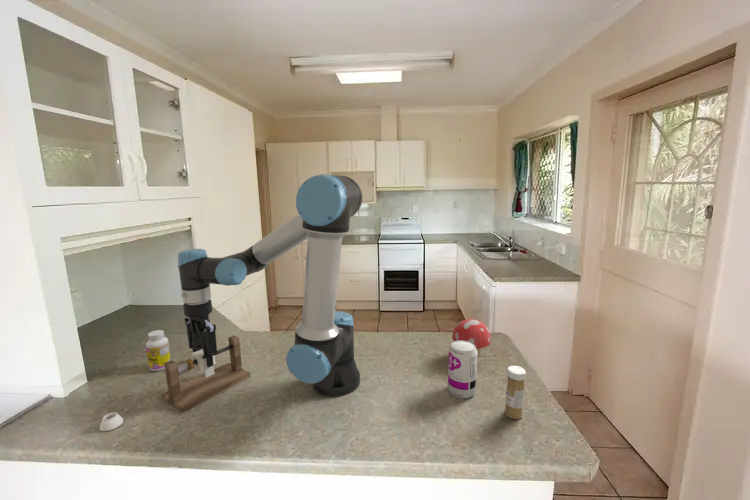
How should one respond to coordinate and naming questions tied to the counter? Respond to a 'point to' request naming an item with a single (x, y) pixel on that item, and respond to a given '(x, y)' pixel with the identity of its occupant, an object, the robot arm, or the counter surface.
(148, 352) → the supplement bottle
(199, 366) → the sleeve
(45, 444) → the counter surface
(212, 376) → the brown stand with rod
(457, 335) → the decorative mushroom
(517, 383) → the sprinkles bottle
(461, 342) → the supplement can
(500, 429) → the counter surface
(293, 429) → the counter surface
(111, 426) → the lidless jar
